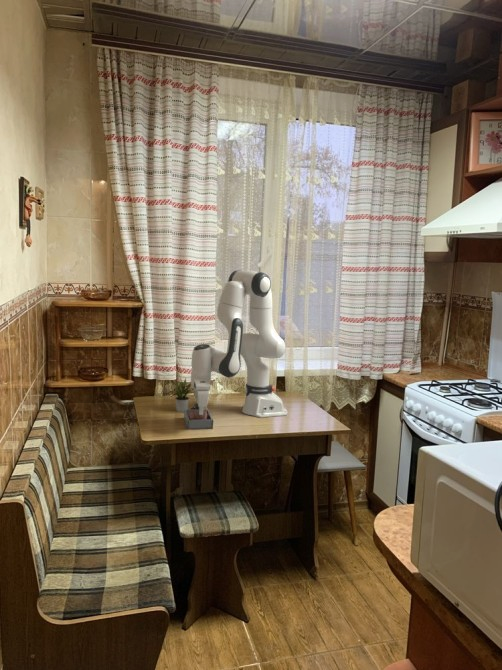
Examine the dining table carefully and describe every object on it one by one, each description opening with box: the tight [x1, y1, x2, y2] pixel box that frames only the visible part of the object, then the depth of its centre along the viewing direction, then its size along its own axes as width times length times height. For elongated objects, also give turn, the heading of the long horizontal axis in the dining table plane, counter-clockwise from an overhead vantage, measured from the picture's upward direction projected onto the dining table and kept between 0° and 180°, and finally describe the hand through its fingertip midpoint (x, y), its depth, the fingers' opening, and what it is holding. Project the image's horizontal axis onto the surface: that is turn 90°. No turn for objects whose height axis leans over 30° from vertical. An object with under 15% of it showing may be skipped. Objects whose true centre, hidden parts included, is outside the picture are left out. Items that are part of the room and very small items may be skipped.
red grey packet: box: [188, 402, 208, 420], centre depth 235 cm, size 8×3×10 cm, turn 107°
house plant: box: [170, 377, 194, 413], centre depth 254 cm, size 14×14×16 cm
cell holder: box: [183, 408, 214, 431], centre depth 239 cm, size 11×16×4 cm
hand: (199, 411), depth 235 cm, fingers open, 8 cm apart
